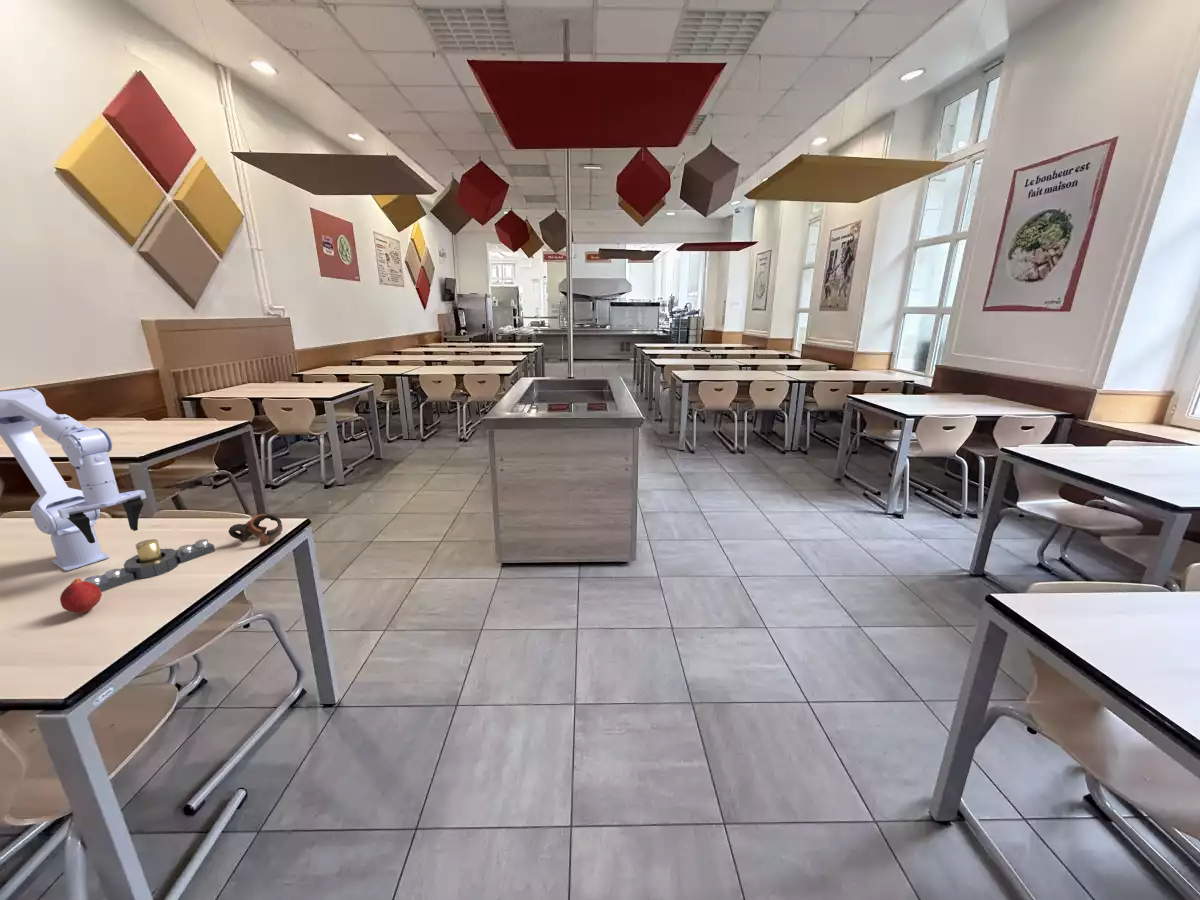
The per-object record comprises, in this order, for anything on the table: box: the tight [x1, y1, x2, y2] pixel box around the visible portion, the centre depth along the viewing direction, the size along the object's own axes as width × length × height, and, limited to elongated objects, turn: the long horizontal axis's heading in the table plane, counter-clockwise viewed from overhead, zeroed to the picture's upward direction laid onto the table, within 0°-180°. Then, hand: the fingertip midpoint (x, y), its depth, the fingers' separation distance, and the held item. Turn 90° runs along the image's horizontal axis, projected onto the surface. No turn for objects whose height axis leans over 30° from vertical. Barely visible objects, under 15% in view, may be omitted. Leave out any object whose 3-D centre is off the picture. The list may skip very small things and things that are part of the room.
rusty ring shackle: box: [228, 513, 283, 547], centre depth 133 cm, size 12×10×8 cm
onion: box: [59, 577, 103, 614], centre depth 101 cm, size 6×6×8 cm
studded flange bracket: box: [83, 538, 216, 593], centre depth 119 cm, size 9×24×3 cm, turn 152°
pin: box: [135, 538, 162, 563], centre depth 118 cm, size 4×4×7 cm
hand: (113, 535), depth 115 cm, fingers open, 7 cm apart
